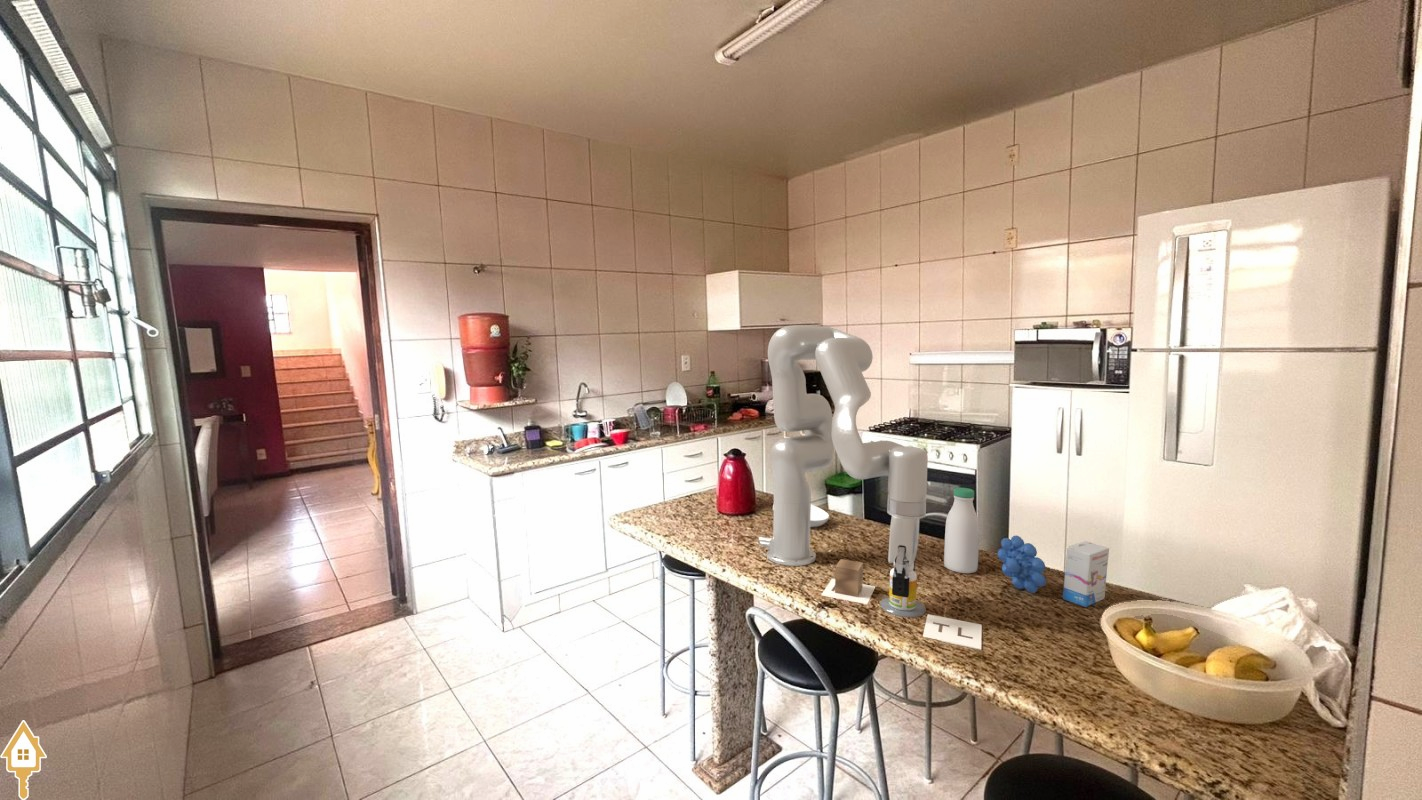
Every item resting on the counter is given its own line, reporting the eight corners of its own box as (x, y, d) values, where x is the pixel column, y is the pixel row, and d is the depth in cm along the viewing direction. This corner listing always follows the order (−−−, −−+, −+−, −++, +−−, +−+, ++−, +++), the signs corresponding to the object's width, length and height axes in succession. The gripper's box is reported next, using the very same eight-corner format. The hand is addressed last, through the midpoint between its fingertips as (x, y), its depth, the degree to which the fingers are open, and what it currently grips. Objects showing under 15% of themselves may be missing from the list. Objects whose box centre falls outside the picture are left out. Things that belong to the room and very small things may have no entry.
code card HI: (820, 596, 124) (820, 594, 124) (832, 579, 133) (832, 578, 133) (867, 605, 120) (867, 604, 120) (875, 587, 129) (875, 586, 129)
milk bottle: (981, 575, 136) (985, 494, 134) (947, 572, 137) (950, 492, 135) (973, 563, 143) (976, 486, 141) (940, 561, 145) (944, 484, 143)
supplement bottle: (913, 601, 121) (915, 557, 120) (917, 612, 115) (919, 566, 114) (887, 598, 122) (889, 555, 121) (890, 610, 117) (891, 564, 116)
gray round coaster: (877, 612, 116) (877, 610, 116) (884, 595, 125) (884, 593, 125) (923, 621, 113) (923, 619, 113) (927, 603, 121) (927, 601, 121)
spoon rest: (836, 527, 172) (837, 504, 171) (805, 533, 167) (806, 509, 166) (791, 508, 193) (791, 487, 192) (762, 512, 188) (762, 491, 187)
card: (922, 637, 107) (922, 636, 106) (927, 615, 115) (927, 613, 115) (981, 650, 102) (981, 648, 102) (981, 625, 111) (981, 624, 111)
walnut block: (835, 592, 125) (835, 566, 125) (840, 584, 130) (840, 559, 129) (857, 597, 123) (858, 570, 123) (862, 588, 128) (862, 562, 127)
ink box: (1086, 608, 119) (1090, 554, 117) (1061, 599, 123) (1065, 546, 122) (1106, 599, 123) (1109, 546, 122) (1081, 590, 127) (1084, 539, 126)
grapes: (984, 582, 132) (986, 532, 130) (1004, 577, 134) (1006, 528, 133) (1030, 603, 121) (1033, 548, 120) (1051, 597, 124) (1054, 544, 123)
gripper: (893, 494, 126) (891, 568, 127) (880, 515, 110) (878, 599, 112) (929, 498, 123) (926, 574, 124) (921, 520, 107) (917, 607, 109)
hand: (903, 586), depth 118 cm, fingers open, 9 cm apart
